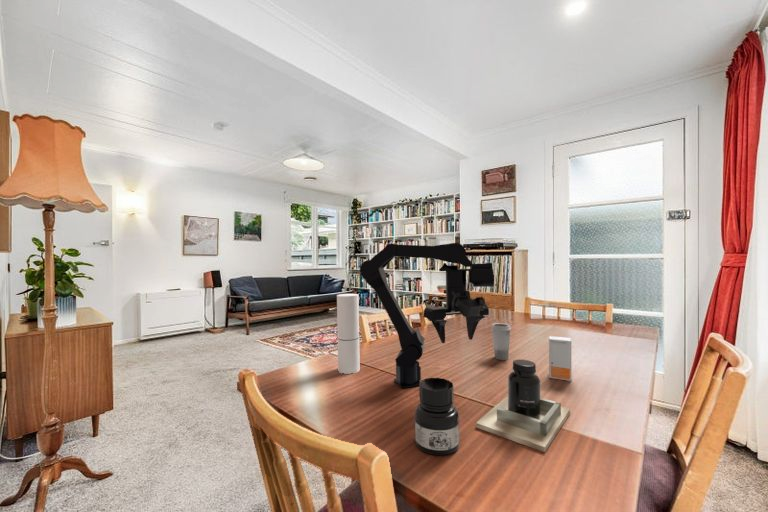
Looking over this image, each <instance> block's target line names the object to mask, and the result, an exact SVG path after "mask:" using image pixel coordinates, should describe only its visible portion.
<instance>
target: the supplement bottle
mask: <svg viewBox="0 0 768 512" xmlns="http://www.w3.org/2000/svg"><path fill="white" fill-rule="evenodd" d="M536 368H537V367H536V363H535V362H533V361H531V360H527V359H514V360H512V371H511V372H510V373H509V374H508V376H507V396H508V410H509V411H512V412H515V413H519V414H522V415H525V416H528V417H532V418H535V419H539V418H540V398H541V379H540V377H539V376H538V375H537V374H536V372H537V369H536Z"/></svg>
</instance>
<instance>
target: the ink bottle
mask: <svg viewBox="0 0 768 512" xmlns="http://www.w3.org/2000/svg"><path fill="white" fill-rule="evenodd" d="M418 391H419V392H418V393H419V395H418V396H419V403H418V404H417V406H415V409H414V441H415V445H416V446H417V447H418V449H419V450H420V451H422V452H424V453H427V454H430V455H435V456H445V455H451V454H453V453H455V452H456V451H457V450H459V449H458V448H459V446H460V414H459V411H458V409H457V408H456V406H455V405H454V384H453V382H451V381H450V380H449V379H445V378H441V377H430V378H429V377H428V378H424V379H421V380H420V382H419V388H418Z"/></svg>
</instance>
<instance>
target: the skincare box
mask: <svg viewBox="0 0 768 512" xmlns="http://www.w3.org/2000/svg"><path fill="white" fill-rule="evenodd" d="M548 375H549V376H548V378H549V379H555V380H562V381H567V382H572V338H571V337H564V336H551V335H549V336H548Z"/></svg>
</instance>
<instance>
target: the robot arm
mask: <svg viewBox="0 0 768 512" xmlns="http://www.w3.org/2000/svg"><path fill="white" fill-rule="evenodd" d="M398 257H401V258H418V259H420V258H422V259H433V260H434V259H435V260H438V261H442V262H444V263H443V265H442V266H441V267H440V268H439V269H438V271H439V272H445V289H443V294H445V297H446V299H445V300H446V301H445V303H443V307H439V306H427V307H425V308H424V310H423V318H426V319H427V320H428V321H430V322H431V323H432V325H433V327H434V328H435V331H436V333H437V335H438V337H439V340H440V342H441V343H442V344H445V343H446V323H447V322H448V320H446V318H447V316H454V315H455V316H456V315H462V316H463V317H465V322H466V330H467V331H466V332H467V336H468V340H473V338H474V335H475V333H476V330H477V327H478V324H479V323H480V321H482V320H483V319H485V318H486V316H489V315H490V309H489V307H488V305H487V304H486V298H485V297H482V296H478V297H474V298H473V297H471V292H470V290H467V278H468V284H471V285H472V287H473V288H482V287H483V288H494V286H495V274H494V269H493V268H494V267H493V262H485V263H472V260H470V259H469V257H468V256H467V251H466V248H465V246H464V245H463V244H462V243H459V242H451V243H445V244H444V243H443V244H438V245H437V244H436V245H417V244H412V245H411V244H396V243H391V242H390V243H388V244H386V246H385V247H384V248H382V249H381V250H380V251H379V252H378V253H376V254H375V255H374V256H373V257H372V258H370V259H366V260H365V261H363V262H362V263H361V264H360V268H359V273H360V274H359V275H361V276H362V279H363V280H365V282H366V283H367V284H368V286H370V288H371V289H373V290H374V291H375V293H376V295H377V297H378V298H379V301H380V302H381V304H382V306H383V308H384V310H385V312H386V314H387V316H388V318H389V319H390V322H391V323H392V325H393V326H394V327H393V328H394V329H395V331H396V332H397V336H398V341H399V345H400V348H401V349H400V350H399V352H398V354H397V355H396V358H395V376H396V377H395V378H394V379H393V381H394V382H395V383H396V384H397V385H398V386H399V387H400V388H401V389H407V388H412V387H417V386H419V382H421V380H422V377H421V376H422V371H421V370H422V368H421V366H420V362H419V361H418V360H420V359H421V357H422V356H423V354H424V353H423V352H424V350H425V347H426V345H425V340H426V338H425V337H424V336H423V335H422V333H421V330H420V328H419V327H417V328H415V329H414V328H413V327H412V326H411V325H410V323H409V321H408V319H407V318H406V316H405V314H404V312H403V310H402V308H401V306H400V304H399V303H398V301H397V299H396V297H395V296H394V294H393V292H392V289H391V288H390V286H389V283H388V280H387V276H386V275H387V274H386V272H385V269H384V268H386V266H387V267H388V264H390V263H391V261H392V260H394V259H395V258H398ZM447 263H451V265H449V264H447ZM453 264H454V265H453ZM458 264H461V266H463V267H465V268H459V265H458ZM468 267H469V268H468ZM467 273H468V277H467Z"/></svg>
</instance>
